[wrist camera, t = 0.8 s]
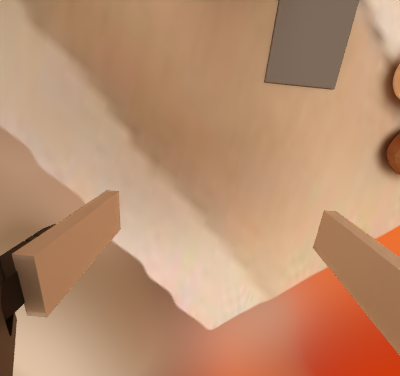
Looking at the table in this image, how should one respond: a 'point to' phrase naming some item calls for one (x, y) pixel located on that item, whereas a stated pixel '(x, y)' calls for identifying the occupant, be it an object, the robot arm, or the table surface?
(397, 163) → the onion
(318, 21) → the rubber mat
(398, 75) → the lidded jar
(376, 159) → the table surface
